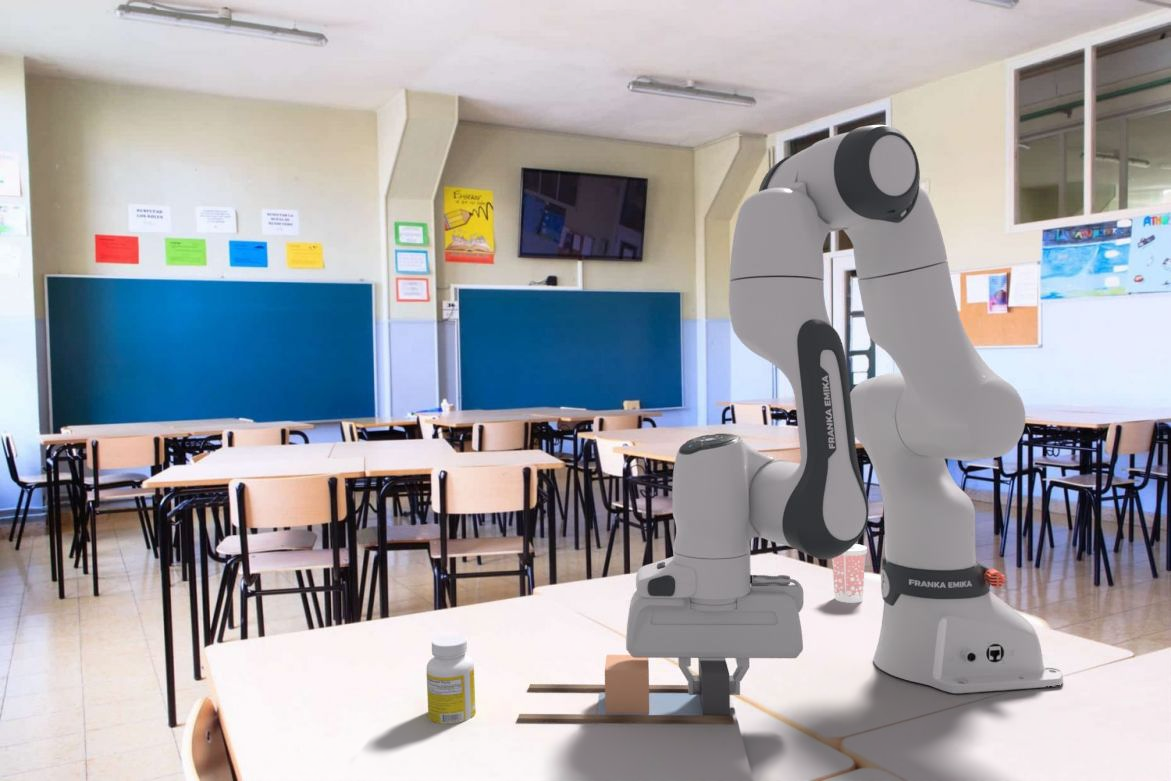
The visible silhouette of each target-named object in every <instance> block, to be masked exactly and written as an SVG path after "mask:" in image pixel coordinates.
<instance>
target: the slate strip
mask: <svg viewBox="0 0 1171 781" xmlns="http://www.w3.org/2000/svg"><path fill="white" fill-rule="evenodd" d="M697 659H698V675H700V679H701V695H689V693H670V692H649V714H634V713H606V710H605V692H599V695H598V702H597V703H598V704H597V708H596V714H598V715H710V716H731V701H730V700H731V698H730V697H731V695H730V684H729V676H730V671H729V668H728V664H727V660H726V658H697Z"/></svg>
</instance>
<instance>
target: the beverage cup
mask: <svg viewBox="0 0 1171 781" xmlns="http://www.w3.org/2000/svg"><path fill="white" fill-rule="evenodd" d="M867 553H868V547H867V546H866V545H862V544H860V543H859V544H857V543H855V544H854V545H853V546H852V547H851V548H850V549H849V550H847V551H846V552H845V553H843V554H841V555H840V556H838V557H835V558H832V559H831V561H832V562H831V563H832V564H831V565H832V576H833V577H832V578H833V590H834V591H833V592H834V599H835V600H836V601H838V602H842V603H848V604H849V603H850V604H857V603H861V602H863V601H864V599H863V598H864V586H865V584H864V583H865V568H866V554H867Z"/></svg>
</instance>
